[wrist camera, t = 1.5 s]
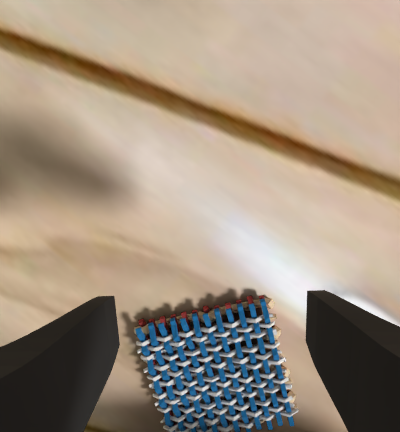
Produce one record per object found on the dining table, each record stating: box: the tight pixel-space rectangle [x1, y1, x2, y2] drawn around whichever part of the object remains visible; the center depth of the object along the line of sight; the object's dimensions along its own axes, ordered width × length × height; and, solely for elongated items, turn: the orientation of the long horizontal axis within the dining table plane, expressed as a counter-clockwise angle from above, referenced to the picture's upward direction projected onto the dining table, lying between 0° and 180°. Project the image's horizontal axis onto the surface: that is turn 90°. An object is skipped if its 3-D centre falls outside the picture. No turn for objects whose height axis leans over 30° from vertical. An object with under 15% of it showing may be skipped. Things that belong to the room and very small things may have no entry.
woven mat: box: [134, 295, 299, 432], centre depth 22 cm, size 10×11×2 cm
